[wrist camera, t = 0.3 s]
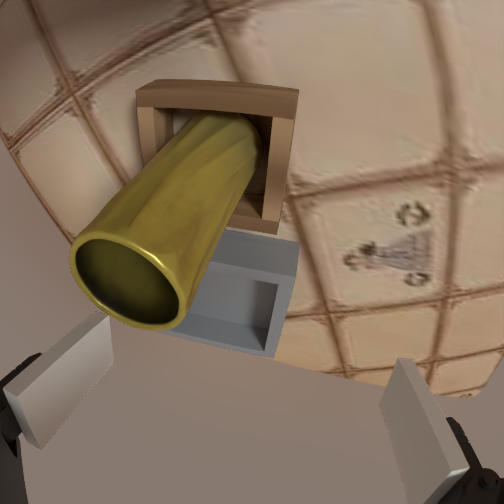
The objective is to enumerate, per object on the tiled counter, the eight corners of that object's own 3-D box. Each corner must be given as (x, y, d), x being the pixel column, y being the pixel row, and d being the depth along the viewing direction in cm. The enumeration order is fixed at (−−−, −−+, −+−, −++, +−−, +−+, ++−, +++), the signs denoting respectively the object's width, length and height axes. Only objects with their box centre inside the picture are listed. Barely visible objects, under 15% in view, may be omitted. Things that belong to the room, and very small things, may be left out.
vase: (251, 192, 24) (190, 354, 13) (177, 171, 24) (73, 307, 13) (273, 120, 20) (209, 257, 9) (189, 98, 20) (47, 202, 9)
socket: (156, 79, 19) (135, 90, 17) (299, 89, 18) (296, 100, 16) (165, 192, 26) (150, 213, 24) (281, 211, 25) (276, 234, 23)
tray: (149, 217, 28) (130, 245, 25) (299, 243, 27) (295, 277, 24) (167, 305, 38) (156, 331, 35) (278, 329, 36) (273, 358, 34)
